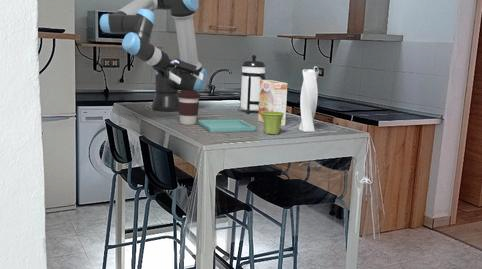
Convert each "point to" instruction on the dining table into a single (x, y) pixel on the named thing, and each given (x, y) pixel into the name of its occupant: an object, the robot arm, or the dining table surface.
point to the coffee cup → (188, 106)
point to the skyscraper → (308, 100)
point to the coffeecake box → (272, 98)
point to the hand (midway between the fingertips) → (191, 79)
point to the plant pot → (272, 121)
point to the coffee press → (251, 84)
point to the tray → (226, 126)
